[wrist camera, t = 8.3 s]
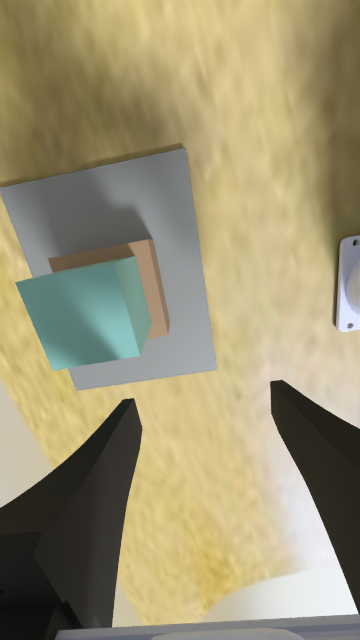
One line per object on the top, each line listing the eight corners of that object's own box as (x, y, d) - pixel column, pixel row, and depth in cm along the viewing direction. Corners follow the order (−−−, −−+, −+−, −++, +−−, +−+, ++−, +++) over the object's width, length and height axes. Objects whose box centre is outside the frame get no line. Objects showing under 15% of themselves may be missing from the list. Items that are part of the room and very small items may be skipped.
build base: (185, 150, 16) (186, 127, 13) (216, 367, 22) (222, 389, 19) (3, 189, 17) (-39, 177, 14) (78, 387, 23) (61, 412, 20)
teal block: (135, 255, 15) (114, 262, 11) (151, 324, 17) (140, 356, 12) (65, 269, 16) (15, 282, 11) (87, 335, 17) (53, 370, 13)
